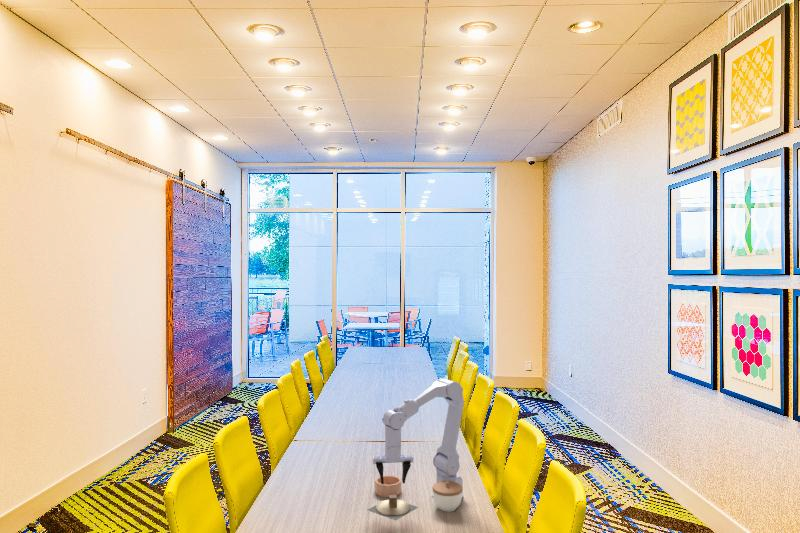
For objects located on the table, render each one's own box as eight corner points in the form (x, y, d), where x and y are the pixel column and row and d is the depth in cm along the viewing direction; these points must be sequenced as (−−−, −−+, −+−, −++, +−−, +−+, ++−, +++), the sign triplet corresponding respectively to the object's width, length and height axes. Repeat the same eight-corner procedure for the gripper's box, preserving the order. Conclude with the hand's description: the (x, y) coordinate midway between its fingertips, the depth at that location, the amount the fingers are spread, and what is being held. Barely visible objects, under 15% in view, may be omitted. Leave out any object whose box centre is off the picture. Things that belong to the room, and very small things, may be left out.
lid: (407, 500, 206) (407, 489, 206) (411, 514, 194) (412, 502, 194) (374, 502, 204) (374, 490, 204) (377, 516, 193) (377, 504, 193)
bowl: (406, 491, 216) (406, 479, 216) (390, 499, 208) (390, 487, 208) (386, 484, 222) (386, 473, 222) (369, 492, 214) (370, 481, 214)
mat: (418, 507, 200) (418, 507, 200) (395, 520, 190) (395, 519, 190) (390, 498, 208) (390, 497, 208) (367, 510, 198) (367, 509, 198)
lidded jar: (460, 501, 206) (460, 476, 205) (464, 514, 195) (464, 488, 195) (431, 501, 205) (431, 476, 205) (434, 515, 195) (434, 488, 194)
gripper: (411, 440, 204) (411, 477, 204) (372, 442, 203) (371, 479, 202) (414, 446, 197) (414, 485, 197) (373, 448, 196) (373, 486, 195)
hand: (392, 482), depth 199 cm, fingers open, 7 cm apart
